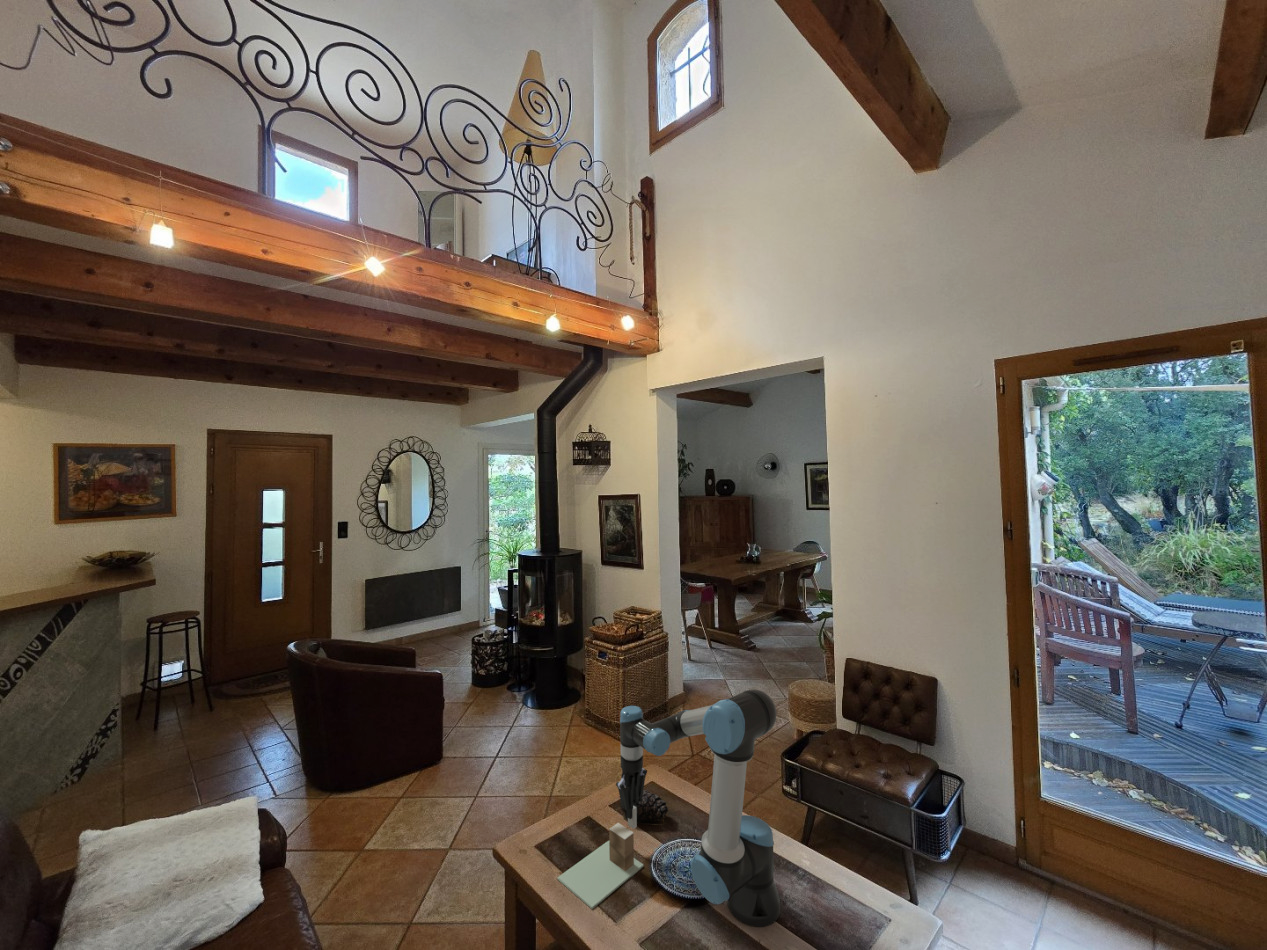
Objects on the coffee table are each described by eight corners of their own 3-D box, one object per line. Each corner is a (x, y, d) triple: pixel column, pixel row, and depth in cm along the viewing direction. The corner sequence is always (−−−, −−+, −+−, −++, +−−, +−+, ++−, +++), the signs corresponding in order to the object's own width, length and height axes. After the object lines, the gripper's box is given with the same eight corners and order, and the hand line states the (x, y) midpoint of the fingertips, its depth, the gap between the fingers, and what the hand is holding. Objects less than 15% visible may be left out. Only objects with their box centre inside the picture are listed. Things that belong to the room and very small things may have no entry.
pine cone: (667, 828, 178) (667, 800, 178) (618, 823, 181) (618, 795, 181) (670, 809, 188) (669, 782, 188) (623, 805, 191) (623, 778, 191)
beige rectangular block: (633, 864, 160) (633, 832, 161) (625, 871, 157) (624, 839, 158) (618, 853, 165) (618, 822, 165) (609, 860, 162) (609, 828, 162)
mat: (643, 866, 160) (643, 864, 160) (591, 909, 144) (591, 907, 144) (608, 842, 171) (608, 840, 171) (557, 879, 155) (557, 877, 155)
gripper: (636, 743, 176) (637, 811, 176) (609, 758, 167) (610, 830, 166) (652, 751, 171) (653, 821, 170) (626, 767, 161) (626, 841, 161)
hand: (632, 826), depth 168 cm, fingers closed
